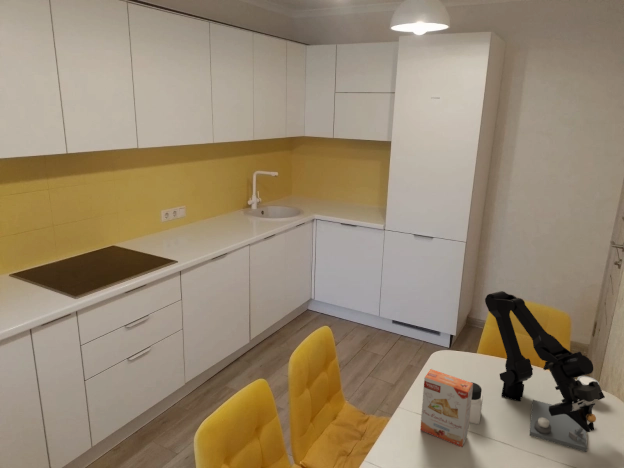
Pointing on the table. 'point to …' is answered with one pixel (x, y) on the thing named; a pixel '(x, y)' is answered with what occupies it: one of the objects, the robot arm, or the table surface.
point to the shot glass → (586, 380)
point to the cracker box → (446, 407)
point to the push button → (543, 422)
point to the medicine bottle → (476, 404)
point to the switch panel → (556, 427)
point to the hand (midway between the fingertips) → (590, 431)
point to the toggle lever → (589, 419)
